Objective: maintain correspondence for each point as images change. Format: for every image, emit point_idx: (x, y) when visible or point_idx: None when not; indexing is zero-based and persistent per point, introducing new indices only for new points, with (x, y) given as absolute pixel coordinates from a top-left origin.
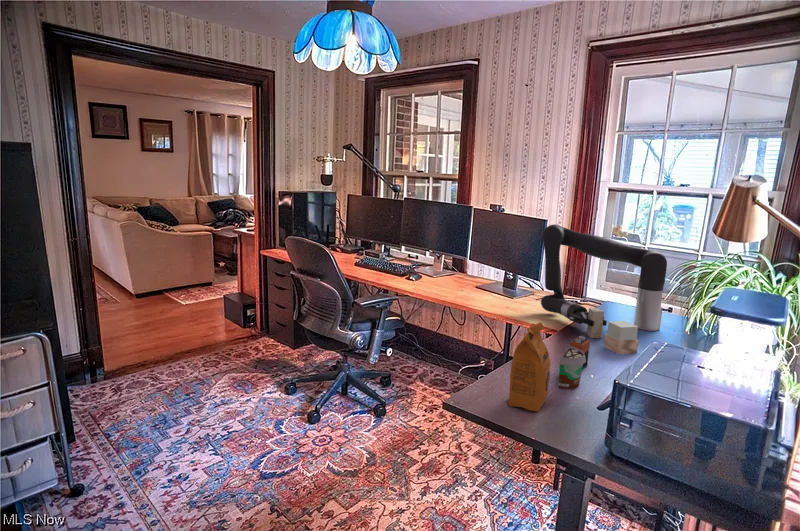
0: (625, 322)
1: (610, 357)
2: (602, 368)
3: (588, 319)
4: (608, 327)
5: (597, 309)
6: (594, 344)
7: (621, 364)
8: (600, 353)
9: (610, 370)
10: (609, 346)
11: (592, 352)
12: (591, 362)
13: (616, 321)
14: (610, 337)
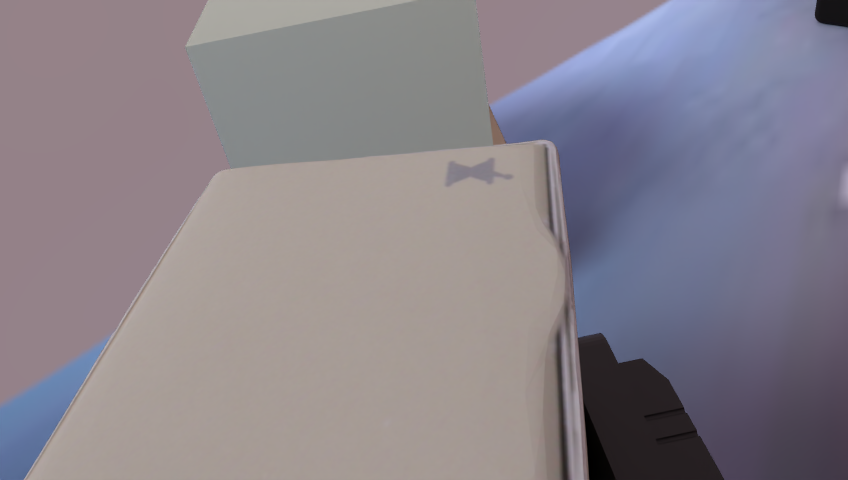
0: (239, 14)
1: (587, 125)
2: (712, 21)
3: (665, 464)
4: (482, 67)
5: (287, 288)
6: (628, 344)
7: (559, 68)
8: (646, 166)
9: (669, 15)
10: None
11: (720, 171)
12: (771, 55)
13: (338, 13)
14: (497, 129)
